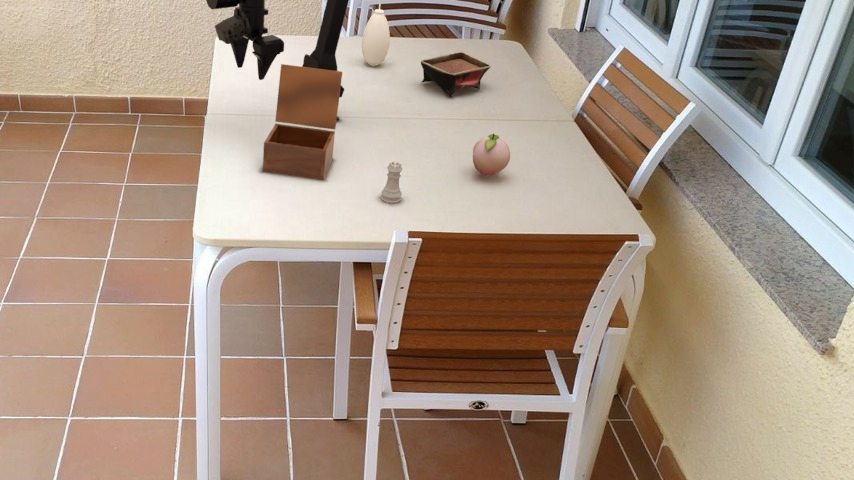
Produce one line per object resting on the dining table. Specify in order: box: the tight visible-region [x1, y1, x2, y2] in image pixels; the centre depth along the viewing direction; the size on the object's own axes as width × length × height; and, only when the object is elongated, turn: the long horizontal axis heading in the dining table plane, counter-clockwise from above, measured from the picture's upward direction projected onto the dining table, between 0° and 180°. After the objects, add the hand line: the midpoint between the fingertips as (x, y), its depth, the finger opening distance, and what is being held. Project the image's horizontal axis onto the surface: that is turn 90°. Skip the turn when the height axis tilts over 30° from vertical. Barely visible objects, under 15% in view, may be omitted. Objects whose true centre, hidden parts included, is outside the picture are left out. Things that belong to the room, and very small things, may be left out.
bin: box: [262, 123, 336, 181], centre depth 214 cm, size 12×14×7 cm
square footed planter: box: [420, 51, 492, 98], centre depth 263 cm, size 14×18×10 cm
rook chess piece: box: [380, 161, 403, 205], centre depth 202 cm, size 4×4×8 cm
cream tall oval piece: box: [361, 0, 391, 67], centre depth 272 cm, size 8×8×18 cm
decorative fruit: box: [472, 133, 511, 177], centre depth 214 cm, size 9×8×10 cm
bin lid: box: [275, 63, 343, 130], centre depth 214 cm, size 12×14×1 cm
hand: (250, 73), depth 223 cm, fingers open, 9 cm apart
